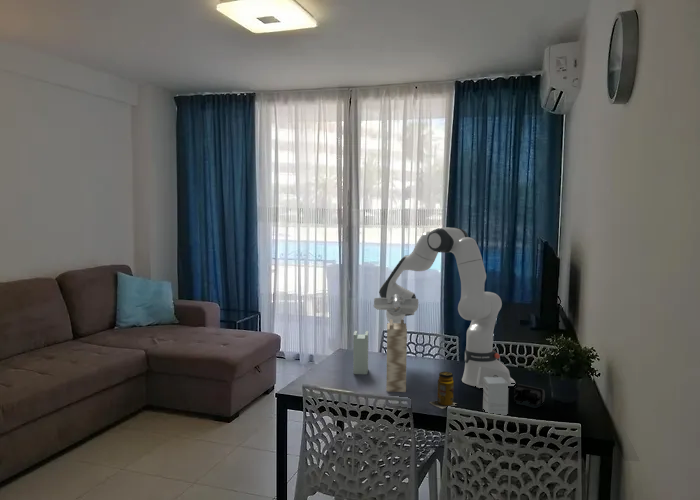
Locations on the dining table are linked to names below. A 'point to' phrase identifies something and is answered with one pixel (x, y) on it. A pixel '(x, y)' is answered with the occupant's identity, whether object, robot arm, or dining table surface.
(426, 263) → the robot arm
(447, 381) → the condiment
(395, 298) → the axle
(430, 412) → the dining table surface
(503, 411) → the supplement box
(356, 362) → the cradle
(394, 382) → the block
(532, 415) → the dining table surface
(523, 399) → the end cap
